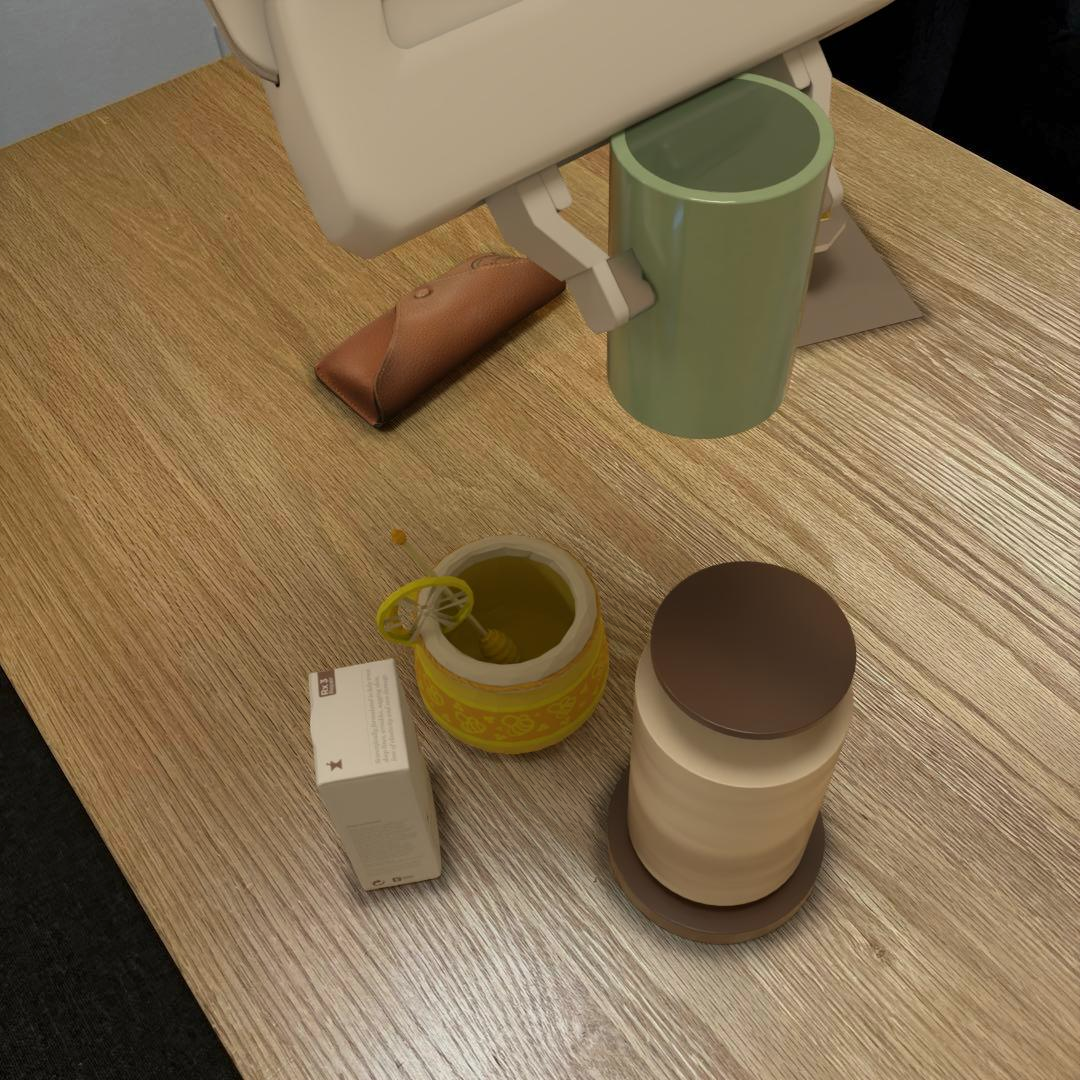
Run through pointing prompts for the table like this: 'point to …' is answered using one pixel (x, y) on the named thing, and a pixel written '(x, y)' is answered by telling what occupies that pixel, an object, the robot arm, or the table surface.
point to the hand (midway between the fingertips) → (724, 266)
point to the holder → (732, 752)
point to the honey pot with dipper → (503, 641)
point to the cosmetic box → (374, 774)
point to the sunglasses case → (434, 333)
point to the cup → (717, 252)
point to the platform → (849, 285)
